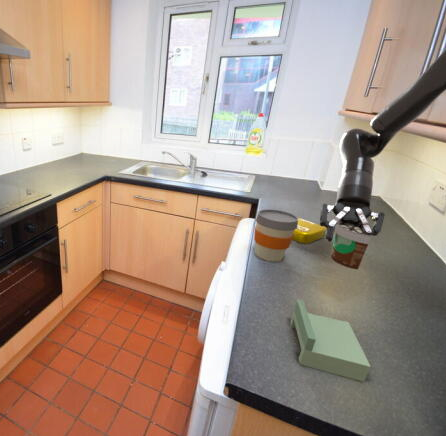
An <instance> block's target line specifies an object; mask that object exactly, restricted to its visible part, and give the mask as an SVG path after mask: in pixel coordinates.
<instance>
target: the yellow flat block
mask: <svg viewBox="0 0 446 436" xmlns="http://www.w3.org/2000/svg"><path fill="white" fill-rule="evenodd" d="M297 218H298V225H297V229H295V231H294V237H293V239H292V241H294V242H297V243H299V244H303V245H307V244H311V243H313V242H315V241H318V240H320V239H323V238H324V237H325V235H326V232H327V228H326V227H324V226H321V225H320V223H319V224H318V223H316V222H312V221H309V220H306V219H304V218H301V217H297Z"/></svg>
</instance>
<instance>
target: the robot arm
mask: <svg viewBox="0 0 446 436" xmlns="http://www.w3.org/2000/svg"><path fill="white" fill-rule="evenodd" d="M445 91H446V48H444V50H443V51H442V52H441V53H440V55H439V56H438V57H437V58H436V59H435V60H434V61H433V62H432V63H431V65H429V66H428V67H427V69H425V70H424V71H423V73H422V74H421V75H420V76H419V77H418V78H417V79H416V80H415V81H414V82H412V84H410V85H409V87H407V88H406V89H405V90H404V91H403V92H402V93H400V94H399V95H398V96H397V97H396V98H395V99H393V100H392V101H391V102H389V104H387V105H386V106H385V107H384V108H383V109H381V111H379V112H378V113H377V114H376V115H375V116H373V118H372V119H371V121H370V128H371V129H372V131H374V133H373V132H370V131H368V130H364V129H362V128H358V127H357V128H352V129H349V130H347V131H346V132H345V133H344V134H343V135H342V137H341V139H340V141H339V153H340V157H341V163H342V171H341V177H340V179H339V182H338V186H337V192H336V198H335V204H334V205H329V204H328V203H323V204H322V206H321V208H320V215H319V225H321V226H324V227H326V231H325V240H327V242H329V243H331V242H332V241H333V240H334V235H335V234H334V233H335V231H334V228H335V225H336V224H337V223H338V222H339V221H340V220H341V221H342V223H350V224H354V225H358V226H359V227H360V228H362V229H363V230H364V232H365V234H366V235H369V236H374V237H376V236H378V235H379V233H381V231H382V227H383V223H384V219H385V216H386V214H385V212H383V211H380V212H379V213H378V212H374V211H372V210H371V202H372V201H371V199H372V193H373V186H374V179H373V177H374V170H375V161H374V160H373V159H372V158H375V157H377V156H379V155H380V154H381V153H382V152H383V151H384V150H385V148H386V147H387V146H388V144H389V143H390V142H391V141H392V139H394V138H395V136H396V135H397V134H398V133H399V132H400V131H402V130H403V129H405V128H406V127H407V126H409V125H410V124H411V123H413V122H414V121H415V120H417V119H418V118H419V117H420V116H422V114H424V113H425V112H426V111H427V110H428V109H429V108H430V107H431V105H432V104H433V103H434V102H435V101H436V100H437V99H438V98H439V97H440V96H441V95H442V94H443V93H444V92H445ZM331 211H332V213H333V214H334V215H335V216H334V218H333V219H332V220H331V221H329V220H328V214H330V212H331ZM369 217H370V218H371V220H372V221H373V225H372V228H371V227H370V224H369V221H368V218H369Z"/></svg>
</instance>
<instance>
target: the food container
mask: <svg viewBox="0 0 446 436" xmlns="http://www.w3.org/2000/svg"><path fill="white" fill-rule="evenodd" d="M334 227H335V228H334V233H335V234H334V237H333V244H332V249H331V254H330V258H331V260H332V261H333V262H335V263H336V264H338V265H340V266H343V267H346V268H348V269H353V270H356V271H357V270H359V268H360V266H361V263H362V261H363V258H364V255H365V253H366V251H367V249H368V246H369V245H371V241H372V235H370V236H369V235H366V234H365V232H364V230H363V229H362V228H360V227H359V226H358V225H354V224H350V223H342V221H341V220H340V221H339V222H338V223H337V224H336V225H335V226H334Z"/></svg>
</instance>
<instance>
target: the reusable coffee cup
mask: <svg viewBox="0 0 446 436" xmlns="http://www.w3.org/2000/svg"><path fill="white" fill-rule="evenodd" d="M298 218H299V217H298V216H296V215H295V214H294V213H291V212H287V211H285V210H278V209H273V208H272V209H271V208H268V209H267V208H266V209H261V210H258V212H257V215H256V217H255V222H256V225H255V227H254V236H253V240H254V255H255V256H256V257H257V258H259V259H261V260H264V261H267V262H273V261H274V262H275V263H276V261H277V262H281V261H282V260H283V259H284V256H285V254H286V252H287V249H289V248H290V246H291V244H292V241H293V240H292V239H293V237H294V231H295V229H297V225H298ZM274 262H273V263H274Z"/></svg>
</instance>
